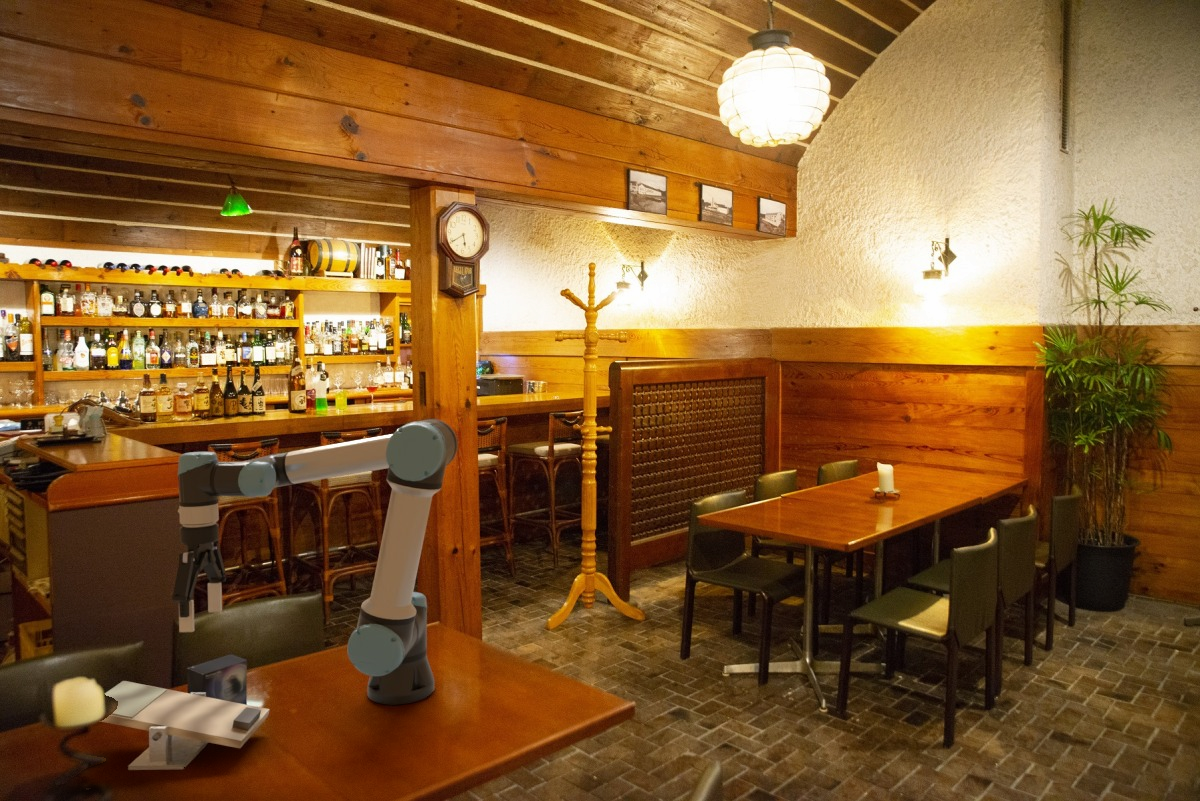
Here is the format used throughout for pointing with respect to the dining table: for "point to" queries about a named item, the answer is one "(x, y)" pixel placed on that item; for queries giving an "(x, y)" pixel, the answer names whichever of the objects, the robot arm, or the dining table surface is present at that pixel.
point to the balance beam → (185, 714)
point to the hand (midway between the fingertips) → (201, 621)
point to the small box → (220, 679)
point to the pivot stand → (167, 750)
